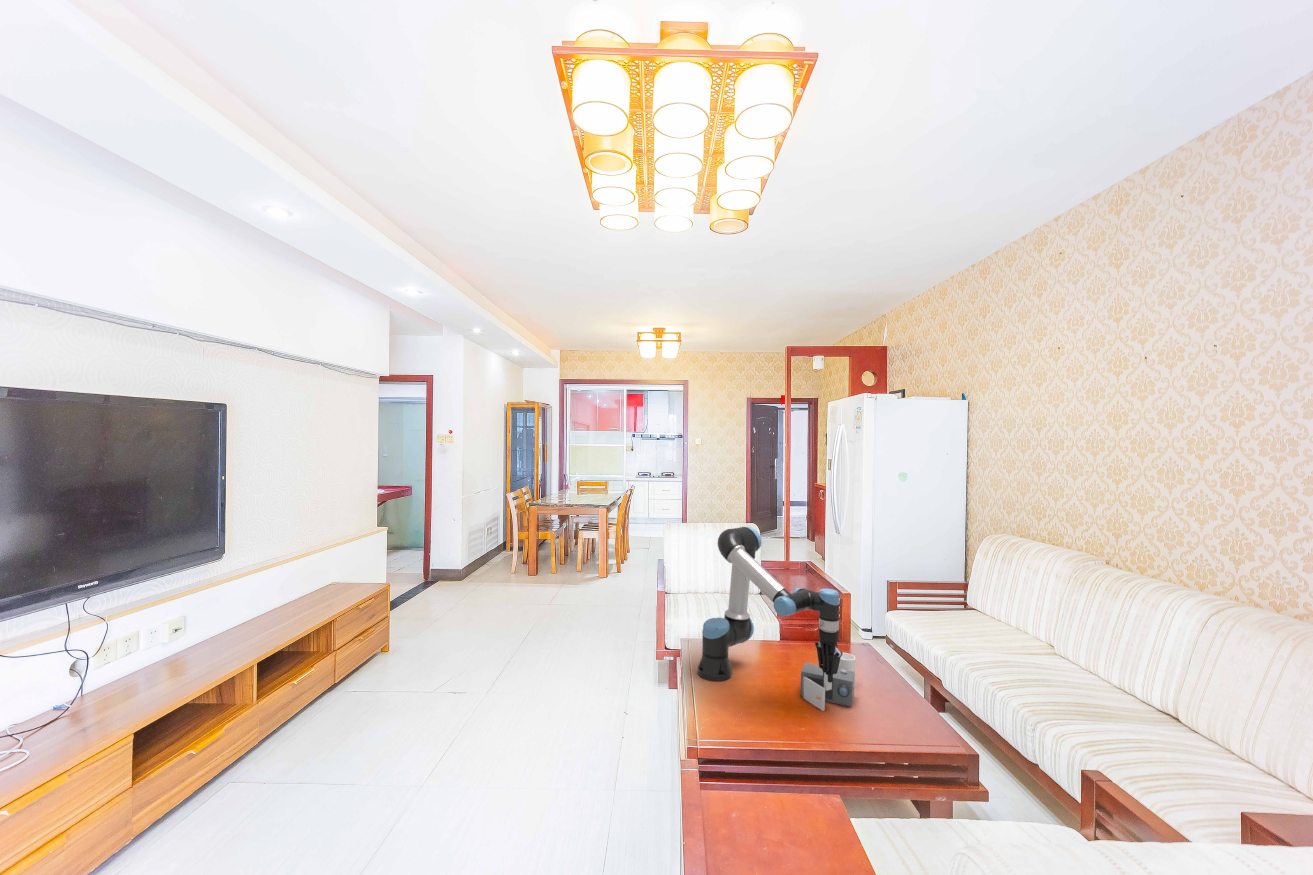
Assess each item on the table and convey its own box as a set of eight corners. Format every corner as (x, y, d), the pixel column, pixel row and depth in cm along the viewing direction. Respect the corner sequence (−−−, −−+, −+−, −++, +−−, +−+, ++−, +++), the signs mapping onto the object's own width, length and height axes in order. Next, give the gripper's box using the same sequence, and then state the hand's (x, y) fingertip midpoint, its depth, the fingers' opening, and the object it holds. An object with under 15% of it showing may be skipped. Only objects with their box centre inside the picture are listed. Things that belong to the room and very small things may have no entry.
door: (799, 697, 219) (800, 676, 219) (803, 696, 220) (804, 675, 220) (820, 711, 208) (821, 689, 208) (824, 710, 209) (825, 688, 209)
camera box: (799, 697, 219) (800, 670, 219) (804, 685, 230) (805, 659, 230) (851, 708, 211) (852, 681, 211) (854, 696, 222) (854, 669, 222)
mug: (824, 680, 236) (824, 652, 236) (834, 674, 242) (834, 648, 242) (849, 690, 227) (849, 661, 227) (859, 684, 233) (859, 656, 233)
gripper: (810, 625, 217) (809, 683, 217) (833, 636, 205) (832, 698, 205) (824, 622, 220) (823, 680, 220) (848, 633, 208) (847, 694, 208)
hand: (827, 689), depth 212 cm, fingers closed
